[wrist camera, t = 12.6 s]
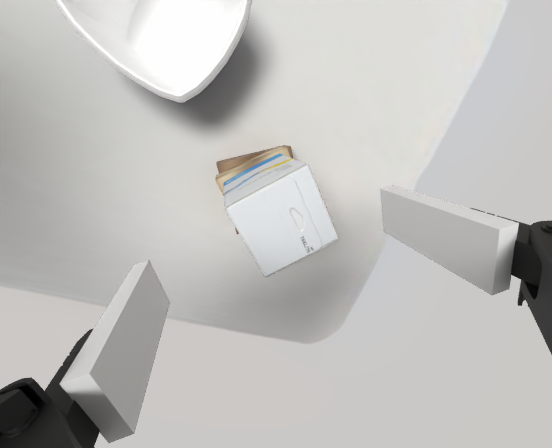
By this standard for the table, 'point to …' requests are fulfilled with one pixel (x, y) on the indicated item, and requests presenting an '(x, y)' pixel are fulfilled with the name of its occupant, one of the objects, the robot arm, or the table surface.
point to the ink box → (278, 212)
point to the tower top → (248, 165)
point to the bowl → (162, 39)
